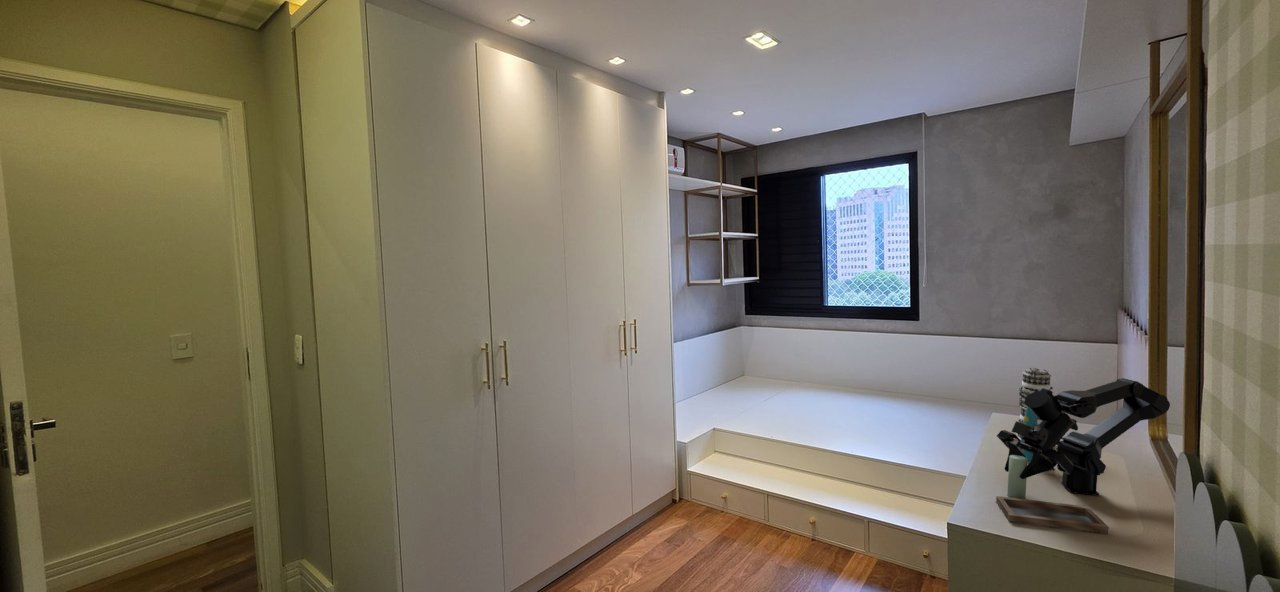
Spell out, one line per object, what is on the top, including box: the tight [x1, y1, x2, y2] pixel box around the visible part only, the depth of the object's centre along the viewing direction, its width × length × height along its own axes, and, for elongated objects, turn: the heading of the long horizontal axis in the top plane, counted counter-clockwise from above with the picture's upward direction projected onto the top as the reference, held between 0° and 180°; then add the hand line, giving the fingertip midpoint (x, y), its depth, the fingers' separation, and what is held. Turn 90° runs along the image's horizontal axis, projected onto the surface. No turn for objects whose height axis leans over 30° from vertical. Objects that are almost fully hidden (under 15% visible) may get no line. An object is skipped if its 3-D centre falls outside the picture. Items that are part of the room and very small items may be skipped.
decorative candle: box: [1017, 367, 1054, 440], centre depth 184 cm, size 9×9×25 cm
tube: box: [1021, 406, 1038, 463], centre depth 169 cm, size 7×5×19 cm, turn 140°
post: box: [1006, 455, 1028, 499], centre depth 145 cm, size 4×4×11 cm
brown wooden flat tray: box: [995, 495, 1110, 535], centre depth 135 cm, size 20×10×2 cm, turn 72°
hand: (1013, 474), depth 145 cm, fingers open, 4 cm apart
